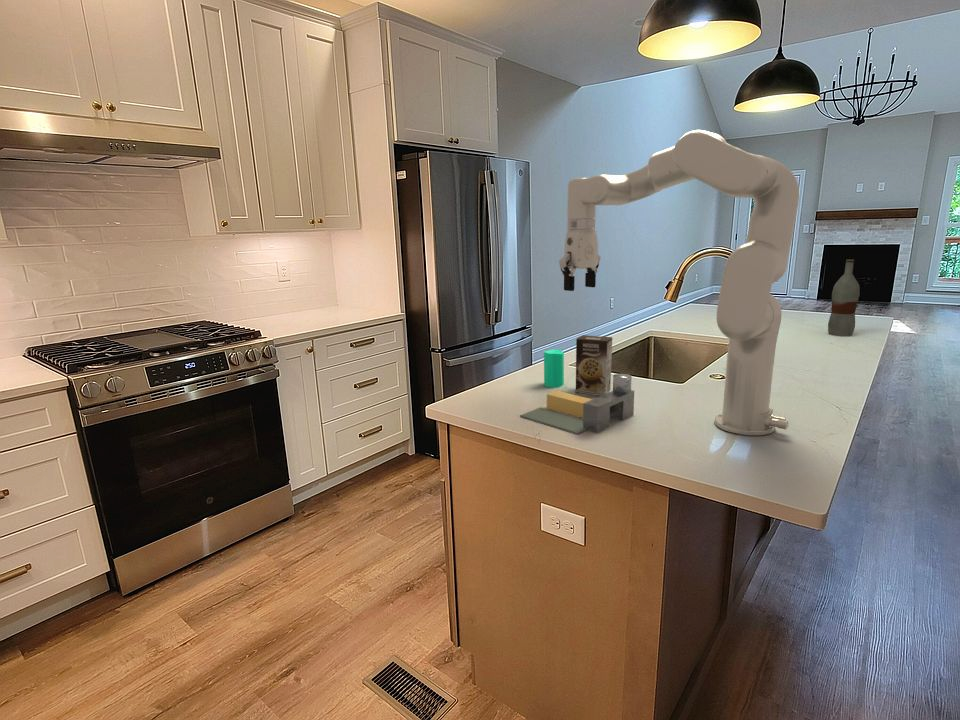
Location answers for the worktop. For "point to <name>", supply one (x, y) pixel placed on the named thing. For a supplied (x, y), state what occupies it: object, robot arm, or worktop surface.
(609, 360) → the coffee box
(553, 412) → the mat
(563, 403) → the yellow rectangular block
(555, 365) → the candle
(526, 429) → the worktop surface
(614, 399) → the housing
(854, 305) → the bottle
